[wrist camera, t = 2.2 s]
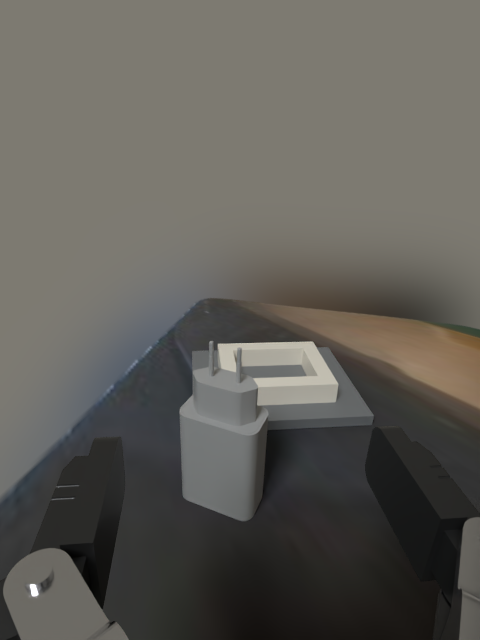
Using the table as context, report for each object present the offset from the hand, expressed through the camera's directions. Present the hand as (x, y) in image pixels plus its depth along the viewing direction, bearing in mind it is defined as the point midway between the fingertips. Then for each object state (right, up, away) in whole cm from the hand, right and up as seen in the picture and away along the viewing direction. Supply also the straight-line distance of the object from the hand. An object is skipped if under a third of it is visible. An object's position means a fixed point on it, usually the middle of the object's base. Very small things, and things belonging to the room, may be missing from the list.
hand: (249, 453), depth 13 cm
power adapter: (-2, -8, +16) cm, 18 cm away
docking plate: (+3, -3, +28) cm, 29 cm away
